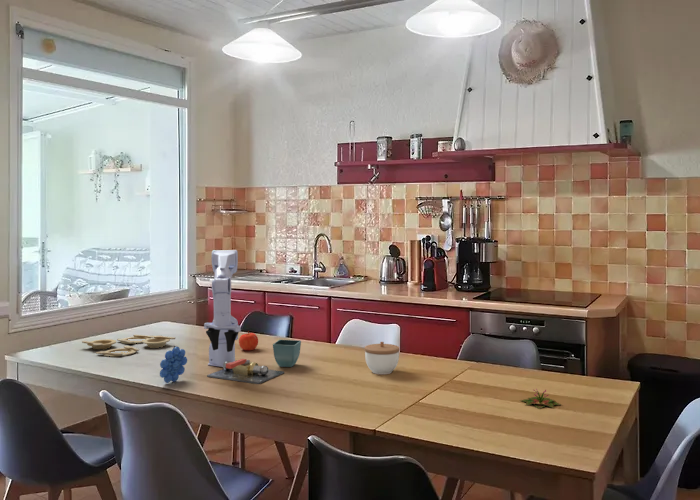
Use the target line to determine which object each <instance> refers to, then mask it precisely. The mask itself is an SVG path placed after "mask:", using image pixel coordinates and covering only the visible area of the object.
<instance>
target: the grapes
mask: <svg viewBox="0 0 700 500" xmlns="http://www.w3.org/2000/svg"><path fill="white" fill-rule="evenodd" d="M171 349H172V350H166V352H165V354H164V358H163V359H162V360H161V361H160V363H159V366H160V368H161V370H160V371H159V376H160V378H161V379H163V383H166V384H168V383H171V382H173V383H174V382H177V381H178V380H179V378H180V376H181V375H183V374H184V373H185V371H186V369H185V368H186V367H185V365H187V363H188V358H187V357H186V356H185V355H186V350H185V349H184V348H180V347H179V346H174V347H173V348H171Z"/></svg>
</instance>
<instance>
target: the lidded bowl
mask: <svg viewBox="0 0 700 500" xmlns="http://www.w3.org/2000/svg"><path fill="white" fill-rule="evenodd" d="M399 358H400V347H399V346H398V345H395V344H391V343H385V342H384V341H380V343H373V344H372V343H371V344H368V345H365V346H364V360H365V363H366V366H367V367H368V369H369V370H370V371H371V372H372V373H373V374H374V375H389V374H391V373H393V371H394V370H396V368H397V366H398V363H399Z"/></svg>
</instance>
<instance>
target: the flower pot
mask: <svg viewBox="0 0 700 500" xmlns="http://www.w3.org/2000/svg"><path fill="white" fill-rule="evenodd" d="M301 345H302V340H298V339H297V340H295V339H293V340H292V339H278V340H277V341H275V342H274V343H273V344H272V350H273V357H274V360H275V362H276V364H277V365H278V367H283V368H293V367H294V366H295V365H296V363H297V362H298V359H299V358H300V353H301Z"/></svg>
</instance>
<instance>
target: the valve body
mask: <svg viewBox="0 0 700 500" xmlns="http://www.w3.org/2000/svg"><path fill="white" fill-rule="evenodd" d="M227 363H232V362H230V361H225V362H224V363H223V367H222V368H223V369H220V370H217V371H214V372H211V373H210V374H207V375H206V376H207V378H213V379H220V380H228V381H233V382H234V381H235V382H242V383H249V384H253V385H254V384H255V385H261V384H262V383H263V384H264V383H265V382H267V381H270V380H272V379H274V378H276V377H279V376H281V375H283V374H285V371H282V370H275V369H269V367H268V366H267V365H259V364H258V362H255V361H250V364H247V365H243V364H241V365H238V366H236V367H234V368H232V369H230V368H226V364H227Z"/></svg>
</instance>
